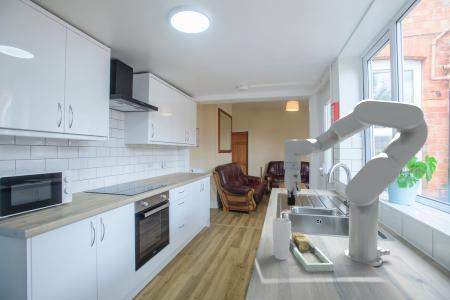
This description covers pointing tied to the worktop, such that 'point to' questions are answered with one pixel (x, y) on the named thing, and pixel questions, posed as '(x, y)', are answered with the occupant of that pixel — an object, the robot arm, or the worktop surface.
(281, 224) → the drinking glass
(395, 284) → the worktop surface
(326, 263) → the tray
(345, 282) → the worktop surface
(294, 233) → the gold cube
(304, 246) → the tan cube
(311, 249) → the slot board
